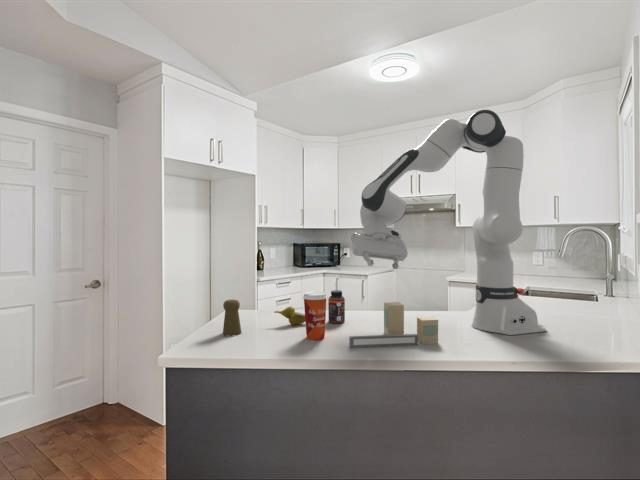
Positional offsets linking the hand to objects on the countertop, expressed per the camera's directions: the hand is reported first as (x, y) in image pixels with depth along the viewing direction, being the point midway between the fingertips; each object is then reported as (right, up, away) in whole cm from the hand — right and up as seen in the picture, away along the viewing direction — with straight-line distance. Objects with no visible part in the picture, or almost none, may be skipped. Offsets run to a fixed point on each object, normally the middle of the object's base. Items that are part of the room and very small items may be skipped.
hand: (383, 266), depth 128 cm
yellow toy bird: (-31, -21, +4) cm, 37 cm away
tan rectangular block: (+2, -21, -9) cm, 23 cm away
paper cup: (-23, -22, -11) cm, 34 cm away
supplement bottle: (-16, -21, +7) cm, 27 cm away
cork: (-51, -22, -6) cm, 56 cm away
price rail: (-3, -22, -20) cm, 30 cm away
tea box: (+10, -21, -16) cm, 29 cm away
